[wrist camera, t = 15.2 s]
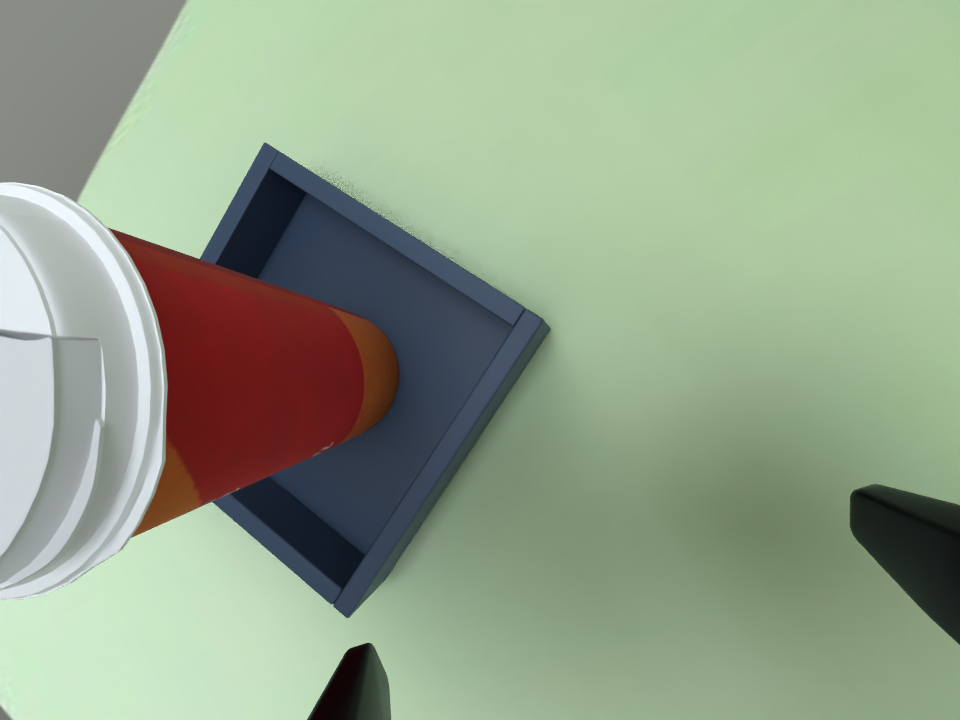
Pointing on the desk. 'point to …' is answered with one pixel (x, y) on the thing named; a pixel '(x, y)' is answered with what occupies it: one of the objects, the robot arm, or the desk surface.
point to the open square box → (421, 362)
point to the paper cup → (152, 386)
